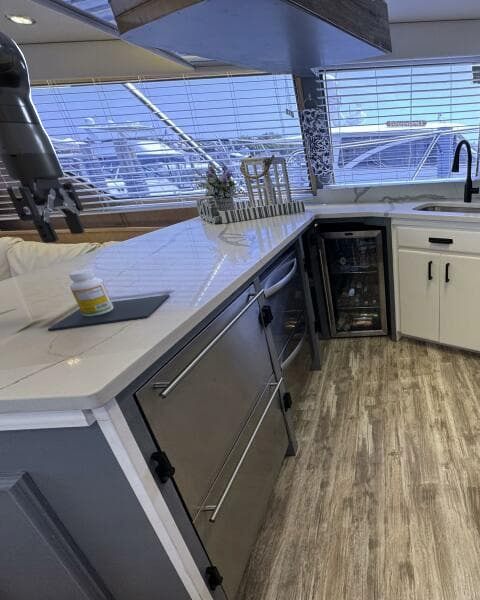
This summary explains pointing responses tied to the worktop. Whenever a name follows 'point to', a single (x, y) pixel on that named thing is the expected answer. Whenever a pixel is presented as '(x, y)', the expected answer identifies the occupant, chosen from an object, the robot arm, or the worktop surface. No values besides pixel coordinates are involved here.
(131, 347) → the worktop surface
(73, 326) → the rubber mat
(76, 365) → the worktop surface
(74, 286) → the supplement bottle
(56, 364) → the worktop surface
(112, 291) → the worktop surface
